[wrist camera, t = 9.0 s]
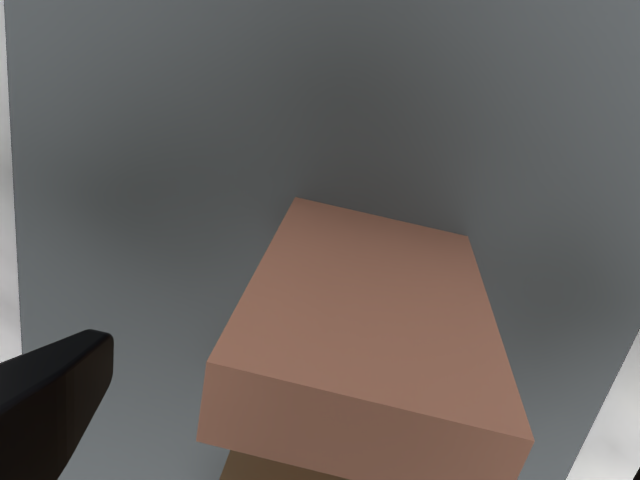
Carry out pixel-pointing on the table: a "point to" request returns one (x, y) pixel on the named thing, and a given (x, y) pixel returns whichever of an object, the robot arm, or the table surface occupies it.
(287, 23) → the mat
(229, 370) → the domino
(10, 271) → the table surface
